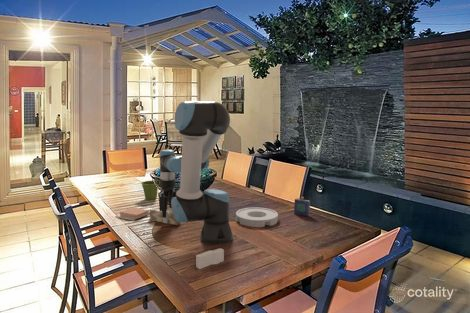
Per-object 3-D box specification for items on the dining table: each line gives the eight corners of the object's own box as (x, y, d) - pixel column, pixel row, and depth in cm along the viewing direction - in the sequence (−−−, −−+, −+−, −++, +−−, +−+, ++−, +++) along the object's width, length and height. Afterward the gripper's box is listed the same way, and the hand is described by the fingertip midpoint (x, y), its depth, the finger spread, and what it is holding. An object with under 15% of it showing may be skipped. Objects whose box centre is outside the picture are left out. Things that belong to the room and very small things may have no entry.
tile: (148, 210, 200) (132, 207, 205) (136, 215, 191) (120, 212, 196) (148, 214, 200) (132, 211, 205) (137, 219, 191) (120, 216, 196)
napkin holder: (192, 272, 133) (192, 258, 133) (193, 259, 145) (192, 246, 144) (232, 271, 135) (232, 257, 134) (229, 258, 146) (229, 245, 145)
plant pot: (145, 196, 241) (145, 180, 239) (162, 197, 239) (161, 180, 238) (138, 200, 229) (138, 184, 228) (156, 201, 228) (155, 184, 226)
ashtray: (272, 229, 179) (272, 222, 179) (229, 224, 187) (229, 217, 186) (281, 216, 201) (281, 209, 201) (243, 212, 209) (243, 205, 208)
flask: (310, 215, 202) (310, 197, 201) (308, 216, 200) (309, 198, 198) (294, 213, 207) (295, 195, 205) (293, 214, 204) (293, 196, 203)
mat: (152, 212, 205) (152, 211, 205) (133, 220, 191) (133, 219, 191) (134, 209, 211) (134, 208, 211) (115, 216, 196) (115, 215, 196)
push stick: (180, 223, 187) (180, 212, 187) (177, 225, 185) (177, 214, 184) (153, 218, 195) (152, 208, 194) (149, 220, 192) (149, 209, 191)
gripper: (171, 175, 195) (172, 215, 198) (151, 181, 179) (152, 225, 183) (182, 176, 192) (183, 217, 195) (163, 183, 176) (164, 227, 179)
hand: (168, 221), depth 189 cm, fingers open, 4 cm apart
